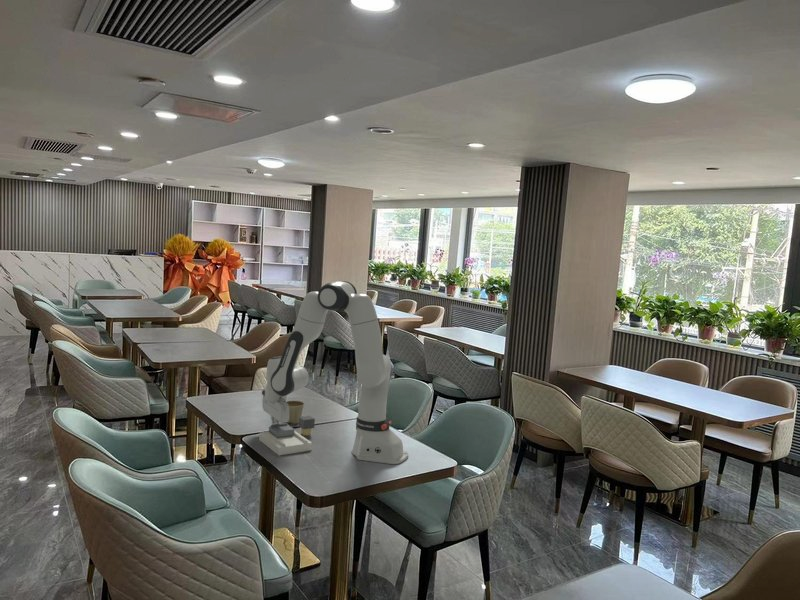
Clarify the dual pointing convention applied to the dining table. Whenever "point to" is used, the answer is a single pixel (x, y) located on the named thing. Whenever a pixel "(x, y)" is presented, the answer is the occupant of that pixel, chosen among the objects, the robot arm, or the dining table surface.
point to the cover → (281, 430)
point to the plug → (306, 424)
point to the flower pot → (295, 411)
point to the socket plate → (285, 443)
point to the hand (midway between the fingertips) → (275, 426)
